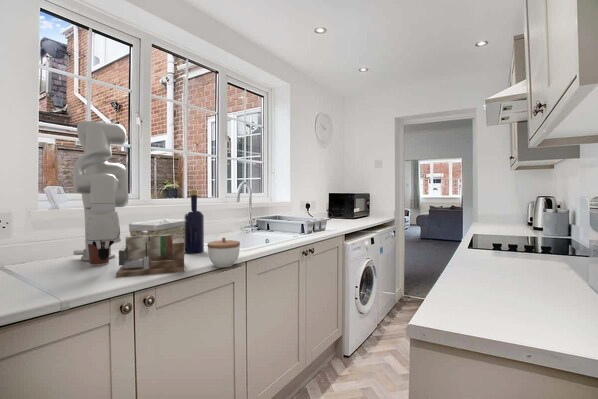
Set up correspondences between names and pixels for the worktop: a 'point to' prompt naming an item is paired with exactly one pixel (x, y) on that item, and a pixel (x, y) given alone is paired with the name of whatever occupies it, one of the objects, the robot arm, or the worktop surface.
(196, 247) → the bottle
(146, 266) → the max needle
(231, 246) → the lidded bowl
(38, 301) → the worktop surface
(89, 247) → the coffee cup
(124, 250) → the grey angle bracket
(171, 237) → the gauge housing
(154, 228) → the storage basket
